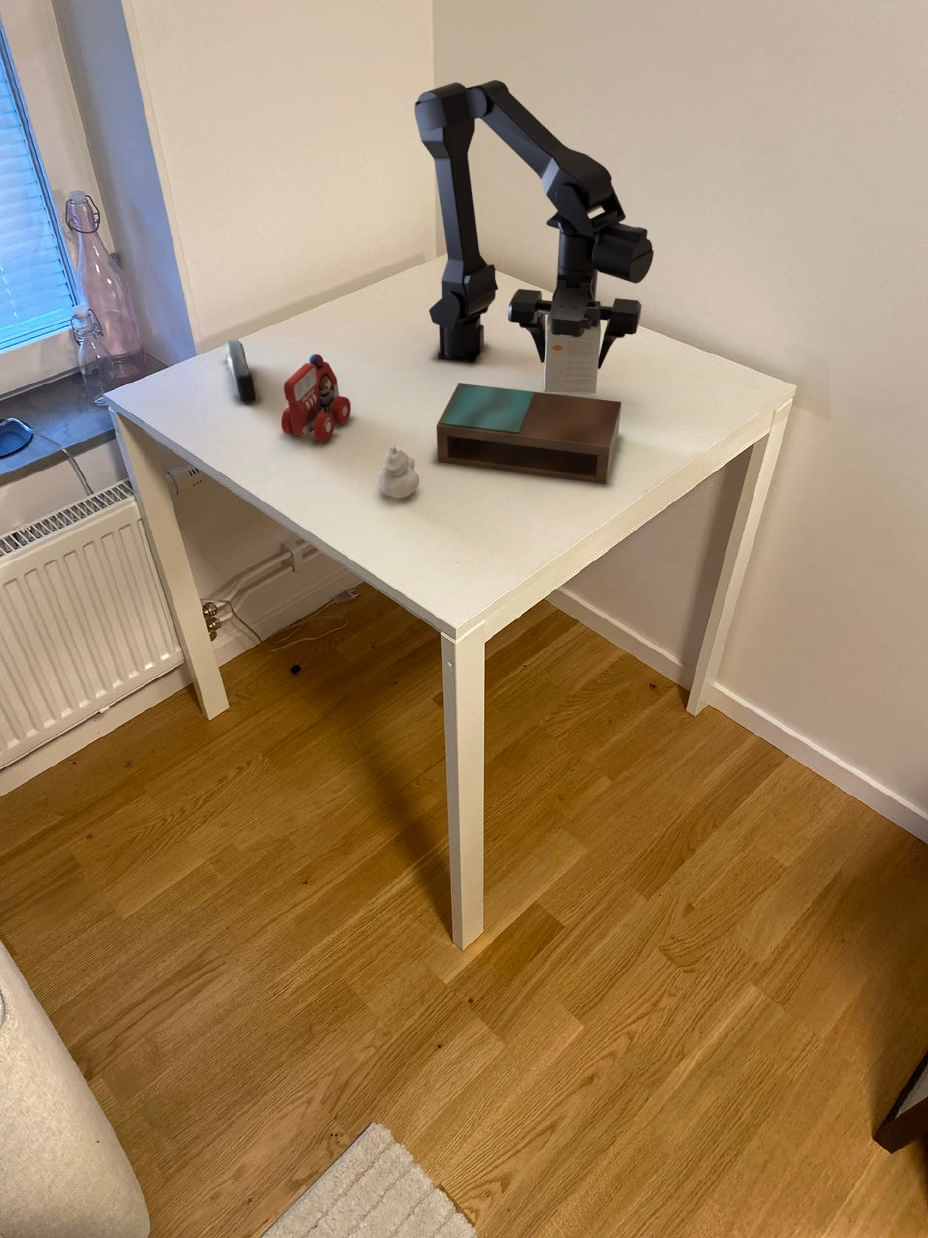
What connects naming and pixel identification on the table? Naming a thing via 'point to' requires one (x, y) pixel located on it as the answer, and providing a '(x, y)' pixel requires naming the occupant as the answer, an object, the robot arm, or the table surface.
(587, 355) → the small box
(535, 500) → the table surface
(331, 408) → the toy fire truck
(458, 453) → the shelf
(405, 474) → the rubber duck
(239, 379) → the mobile phone
